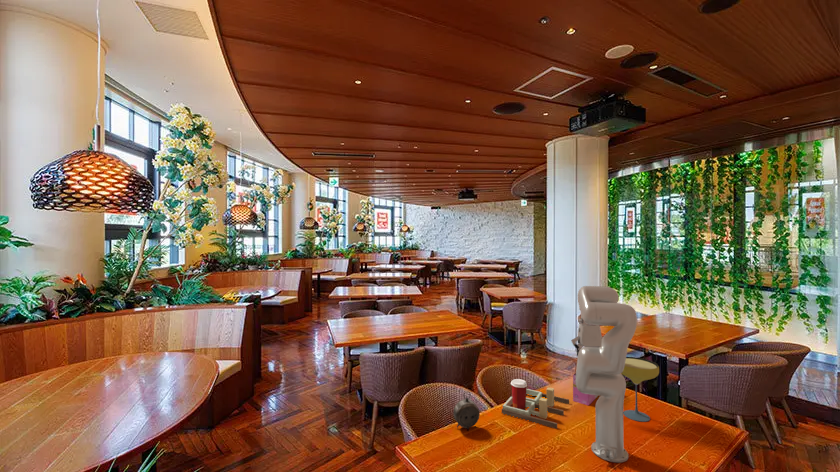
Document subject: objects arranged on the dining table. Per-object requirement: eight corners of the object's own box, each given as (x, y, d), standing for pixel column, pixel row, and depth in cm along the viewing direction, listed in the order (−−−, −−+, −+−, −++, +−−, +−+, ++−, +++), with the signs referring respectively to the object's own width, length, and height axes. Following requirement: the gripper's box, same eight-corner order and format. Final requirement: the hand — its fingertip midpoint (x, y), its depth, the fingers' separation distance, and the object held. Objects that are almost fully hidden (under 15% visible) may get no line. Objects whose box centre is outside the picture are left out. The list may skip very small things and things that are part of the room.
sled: (543, 423, 159) (543, 405, 159) (502, 411, 169) (502, 395, 169) (549, 412, 169) (549, 395, 169) (510, 402, 179) (510, 386, 179)
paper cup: (529, 409, 172) (529, 380, 172) (524, 416, 165) (524, 386, 166) (513, 405, 176) (513, 377, 176) (508, 411, 170) (508, 382, 170)
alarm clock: (476, 424, 158) (476, 387, 158) (481, 430, 153) (480, 392, 153) (453, 427, 155) (453, 390, 156) (456, 433, 150) (456, 395, 150)
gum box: (588, 387, 199) (588, 363, 199) (603, 391, 193) (603, 366, 194) (572, 401, 181) (572, 374, 182) (588, 406, 176) (588, 378, 176)
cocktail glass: (666, 428, 154) (665, 371, 155) (620, 422, 160) (619, 367, 160) (651, 409, 172) (651, 358, 172) (610, 405, 177) (610, 354, 177)
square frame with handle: (550, 410, 170) (550, 393, 171) (512, 400, 181) (512, 385, 181) (556, 401, 180) (556, 385, 181) (519, 392, 191) (519, 377, 191)
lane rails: (556, 428, 154) (556, 424, 154) (501, 413, 168) (501, 409, 168) (569, 403, 178) (569, 399, 179) (520, 392, 192) (520, 388, 192)
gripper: (575, 323, 167) (575, 360, 167) (611, 323, 168) (611, 360, 167) (568, 320, 175) (568, 355, 175) (602, 320, 175) (602, 355, 175)
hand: (589, 357), depth 171 cm, fingers open, 9 cm apart
